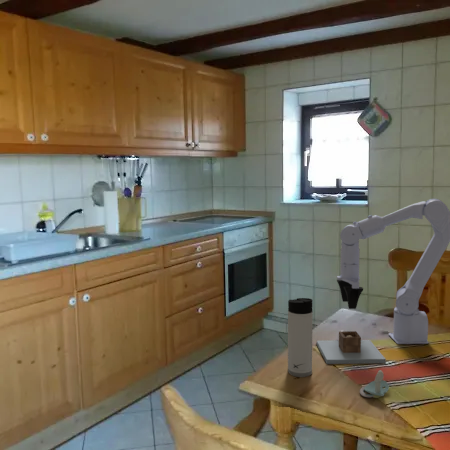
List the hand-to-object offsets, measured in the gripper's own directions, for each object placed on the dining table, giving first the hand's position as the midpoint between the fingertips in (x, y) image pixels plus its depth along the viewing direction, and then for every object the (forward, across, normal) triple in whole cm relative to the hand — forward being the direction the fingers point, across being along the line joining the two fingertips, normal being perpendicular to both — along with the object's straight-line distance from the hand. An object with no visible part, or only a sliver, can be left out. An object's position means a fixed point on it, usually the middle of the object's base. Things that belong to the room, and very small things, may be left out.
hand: (349, 304), depth 148 cm
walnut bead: (+8, +16, -4) cm, 18 cm away
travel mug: (+10, +28, -20) cm, 36 cm away
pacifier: (+10, +40, -5) cm, 41 cm away
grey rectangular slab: (+9, +16, -4) cm, 19 cm away
